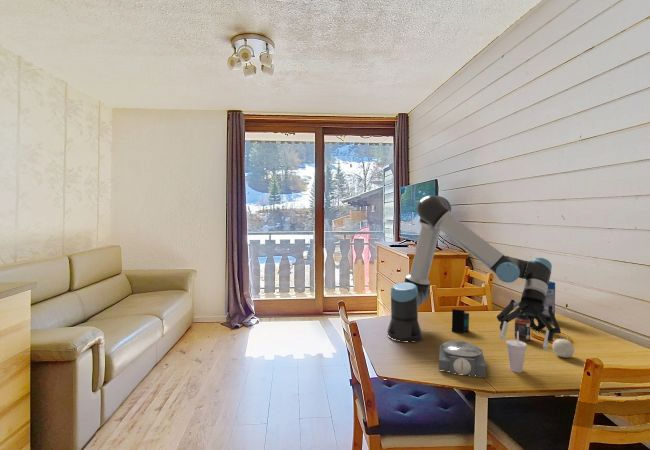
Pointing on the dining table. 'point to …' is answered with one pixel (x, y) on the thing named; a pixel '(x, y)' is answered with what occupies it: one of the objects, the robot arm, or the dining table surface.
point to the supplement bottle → (522, 327)
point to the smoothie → (516, 354)
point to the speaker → (460, 321)
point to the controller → (540, 323)
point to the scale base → (462, 364)
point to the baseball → (563, 348)
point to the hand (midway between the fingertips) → (522, 343)
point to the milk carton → (550, 298)
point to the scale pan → (461, 349)
